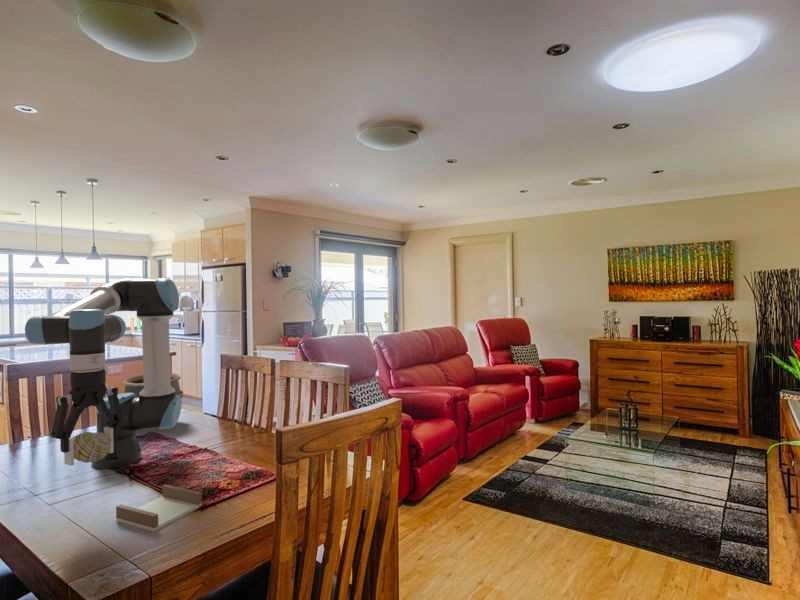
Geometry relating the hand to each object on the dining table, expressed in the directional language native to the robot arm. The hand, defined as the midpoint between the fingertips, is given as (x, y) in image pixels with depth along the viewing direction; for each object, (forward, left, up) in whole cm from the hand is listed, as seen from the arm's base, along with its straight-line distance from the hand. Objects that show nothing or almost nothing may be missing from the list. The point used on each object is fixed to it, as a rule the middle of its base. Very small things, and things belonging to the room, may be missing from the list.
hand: (89, 457), depth 118 cm
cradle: (+11, +12, -17) cm, 23 cm away
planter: (-65, +70, -18) cm, 97 cm away
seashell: (0, 0, -1) cm, 1 cm away
